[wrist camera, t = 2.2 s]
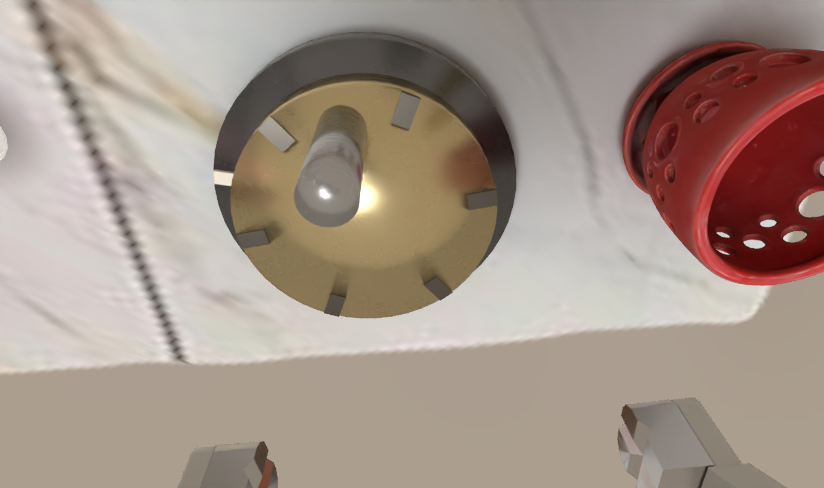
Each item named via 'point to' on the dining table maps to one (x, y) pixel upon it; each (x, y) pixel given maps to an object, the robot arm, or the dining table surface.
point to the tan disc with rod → (364, 196)
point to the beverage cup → (3, 144)
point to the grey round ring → (367, 57)
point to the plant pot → (735, 156)
